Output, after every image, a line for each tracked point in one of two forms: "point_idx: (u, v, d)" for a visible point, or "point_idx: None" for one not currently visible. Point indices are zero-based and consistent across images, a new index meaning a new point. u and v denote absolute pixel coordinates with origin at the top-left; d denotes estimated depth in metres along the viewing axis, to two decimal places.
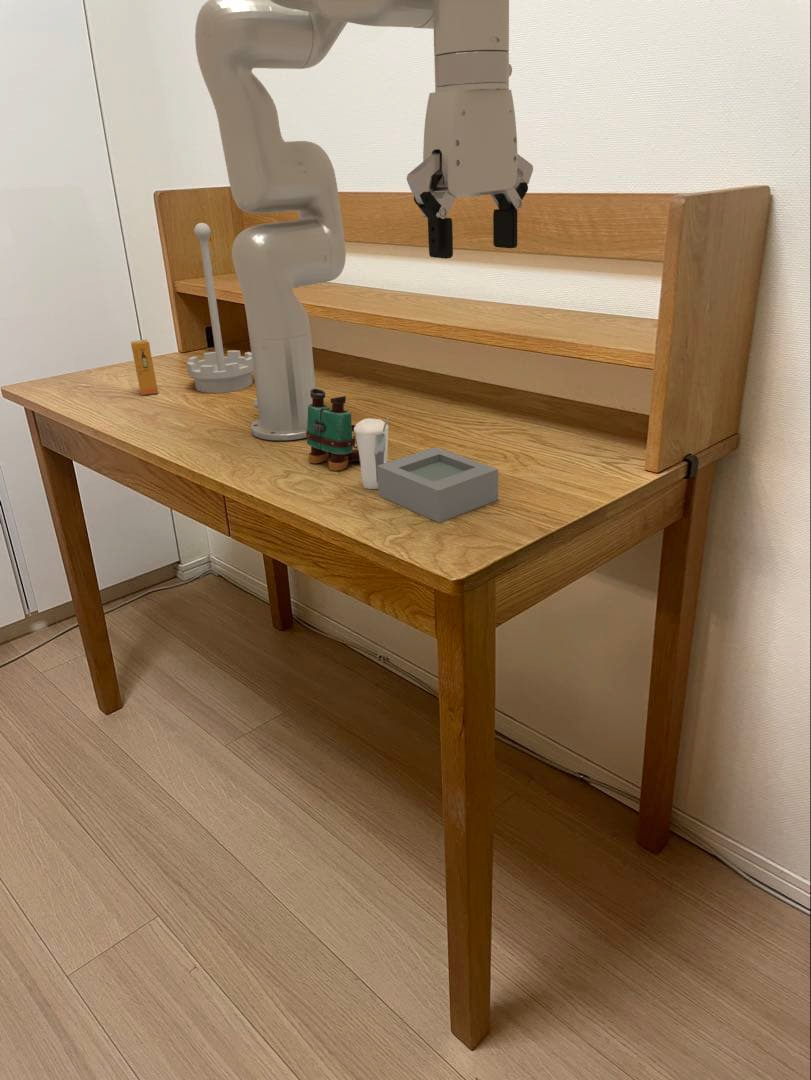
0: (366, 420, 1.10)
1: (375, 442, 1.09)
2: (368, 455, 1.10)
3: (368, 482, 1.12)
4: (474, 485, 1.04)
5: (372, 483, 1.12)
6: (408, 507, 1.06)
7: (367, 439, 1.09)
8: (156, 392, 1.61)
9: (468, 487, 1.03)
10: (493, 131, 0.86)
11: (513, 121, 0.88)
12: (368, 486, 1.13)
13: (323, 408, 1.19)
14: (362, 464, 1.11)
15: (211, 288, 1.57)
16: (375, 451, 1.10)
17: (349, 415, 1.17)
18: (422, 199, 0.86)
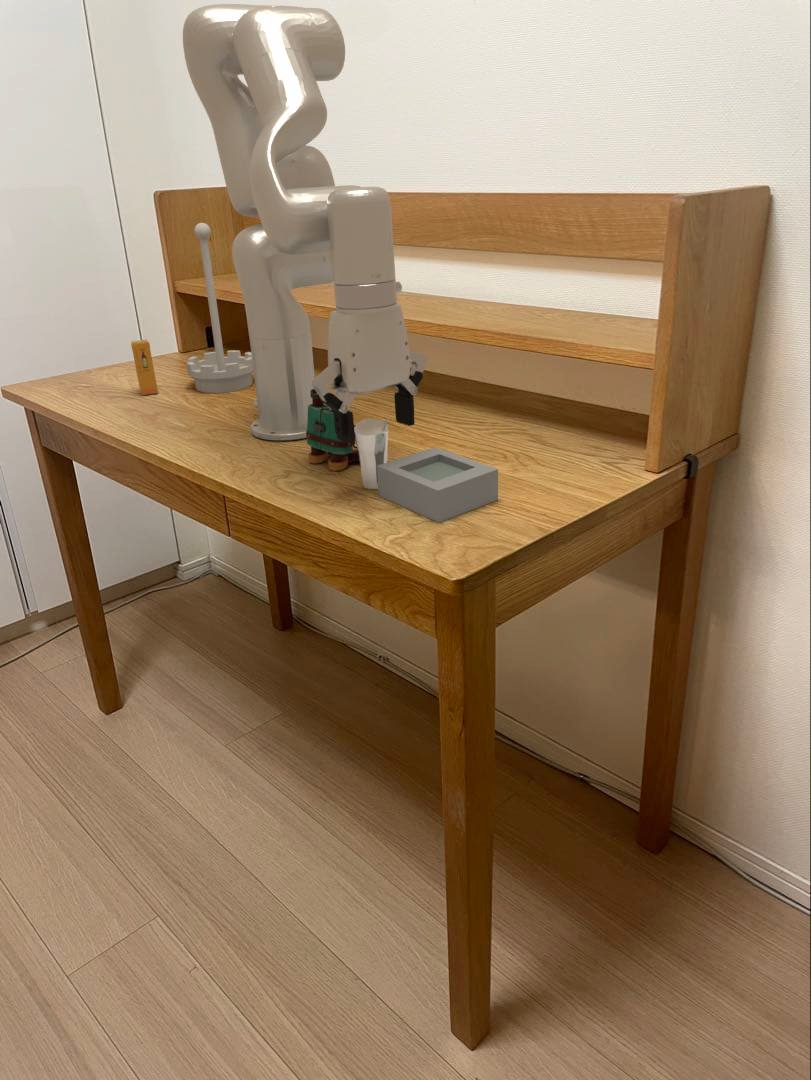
0: (366, 420, 1.10)
1: (375, 442, 1.09)
2: (368, 455, 1.10)
3: (368, 482, 1.12)
4: (474, 485, 1.04)
5: (372, 483, 1.12)
6: (408, 507, 1.06)
7: (367, 439, 1.09)
8: (156, 392, 1.61)
9: (468, 487, 1.03)
10: (385, 341, 1.03)
11: (404, 329, 1.05)
12: (368, 486, 1.13)
13: (323, 408, 1.19)
14: (362, 464, 1.11)
15: (211, 288, 1.57)
16: (375, 451, 1.10)
17: None
18: (325, 399, 1.03)
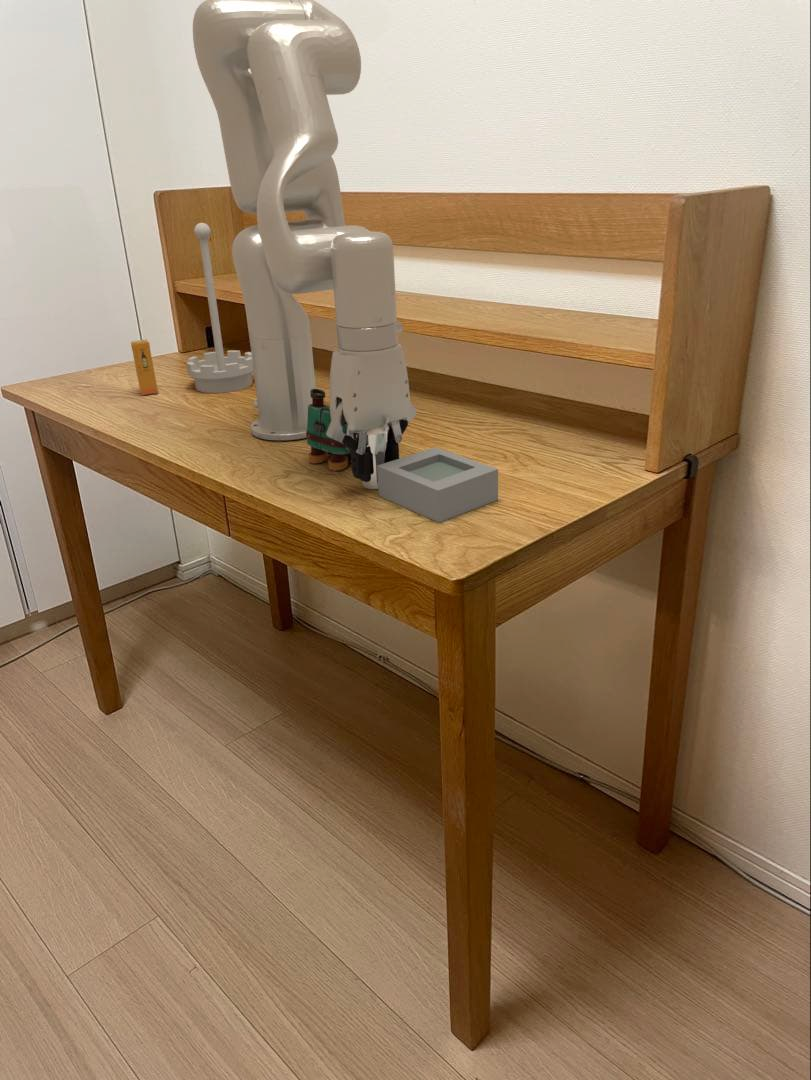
0: None
1: (375, 442, 1.09)
2: None
3: (368, 482, 1.12)
4: (474, 485, 1.04)
5: (372, 483, 1.12)
6: (408, 507, 1.06)
7: (367, 439, 1.09)
8: (156, 392, 1.61)
9: (468, 487, 1.03)
10: (385, 380, 1.06)
11: (404, 368, 1.08)
12: (368, 486, 1.13)
13: (323, 408, 1.19)
14: None
15: (211, 288, 1.57)
16: (375, 451, 1.10)
17: None
18: (345, 443, 1.07)
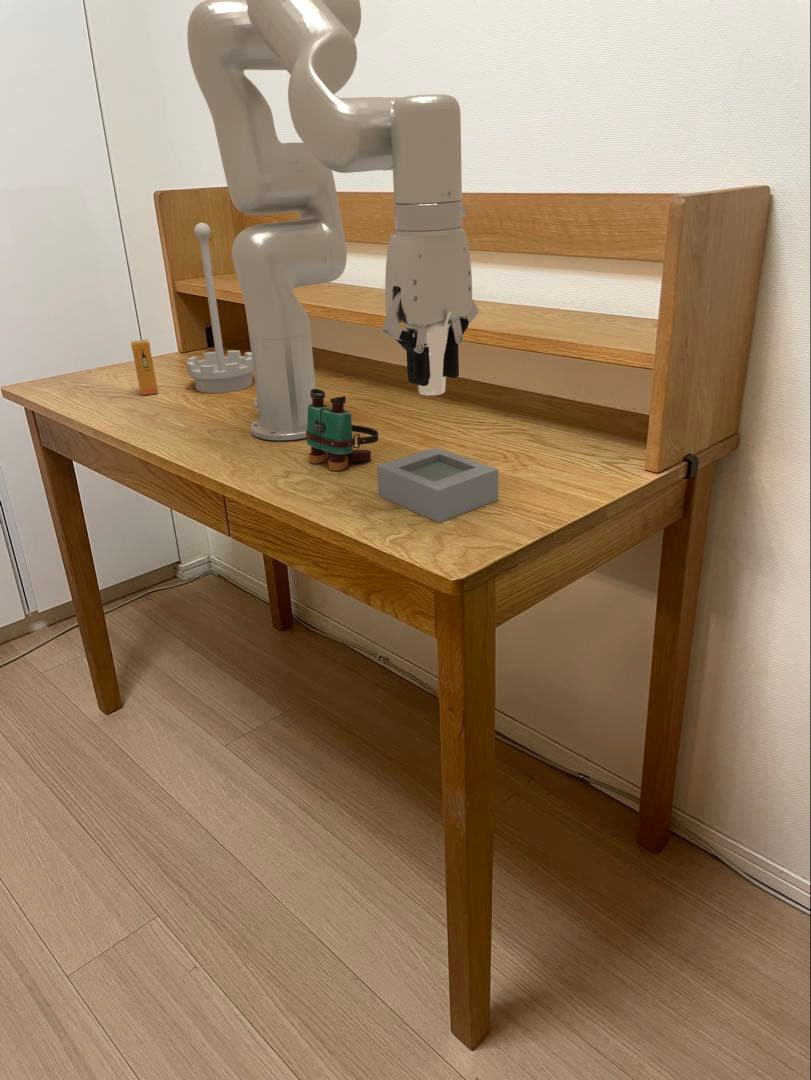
0: None
1: (435, 340, 0.98)
2: None
3: (425, 387, 1.01)
4: (474, 485, 1.04)
5: (430, 388, 1.01)
6: (408, 507, 1.06)
7: (426, 337, 0.98)
8: (156, 392, 1.61)
9: (468, 487, 1.03)
10: (448, 268, 0.95)
11: (467, 257, 0.97)
12: (425, 392, 1.02)
13: (323, 408, 1.19)
14: None
15: (211, 288, 1.57)
16: (435, 351, 0.99)
17: (349, 415, 1.17)
18: (402, 340, 0.97)
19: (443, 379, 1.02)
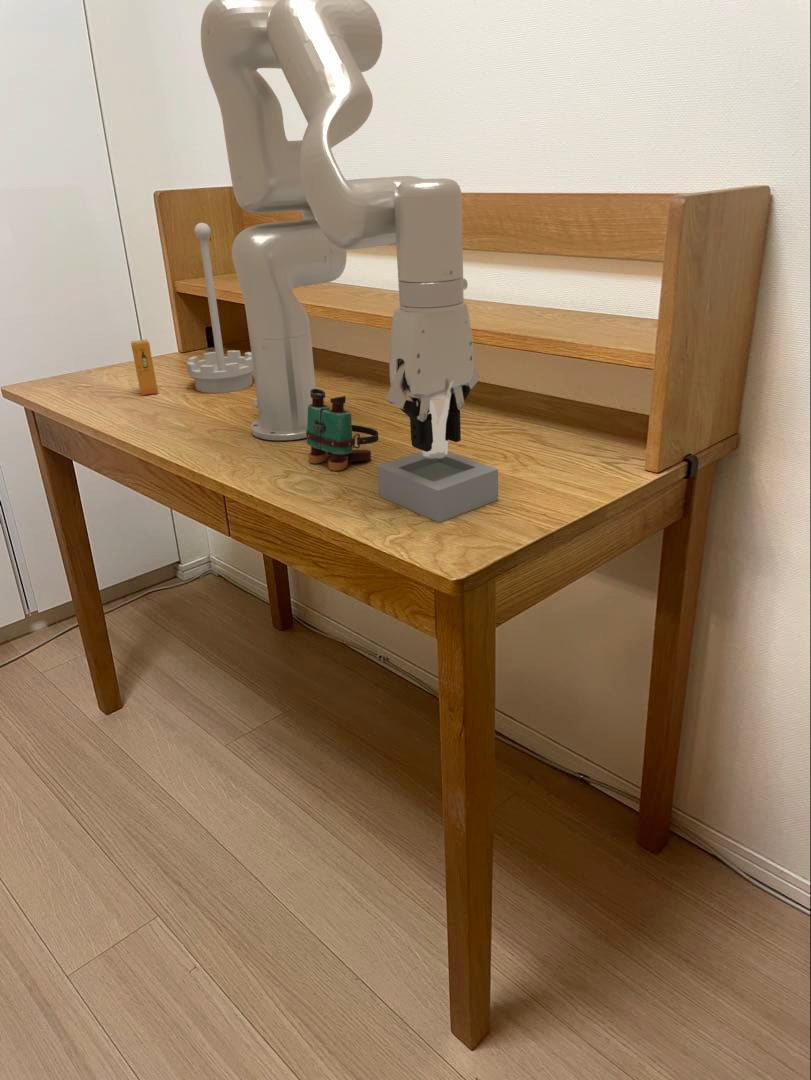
0: None
1: (438, 408, 1.02)
2: None
3: (428, 452, 1.05)
4: (474, 485, 1.04)
5: (433, 453, 1.05)
6: (408, 507, 1.06)
7: (429, 405, 1.02)
8: (156, 392, 1.61)
9: (468, 487, 1.03)
10: (450, 341, 0.99)
11: (469, 329, 1.00)
12: (428, 456, 1.05)
13: (323, 408, 1.19)
14: None
15: (211, 288, 1.57)
16: (437, 418, 1.03)
17: (349, 415, 1.17)
18: (405, 409, 1.00)
19: (445, 444, 1.05)
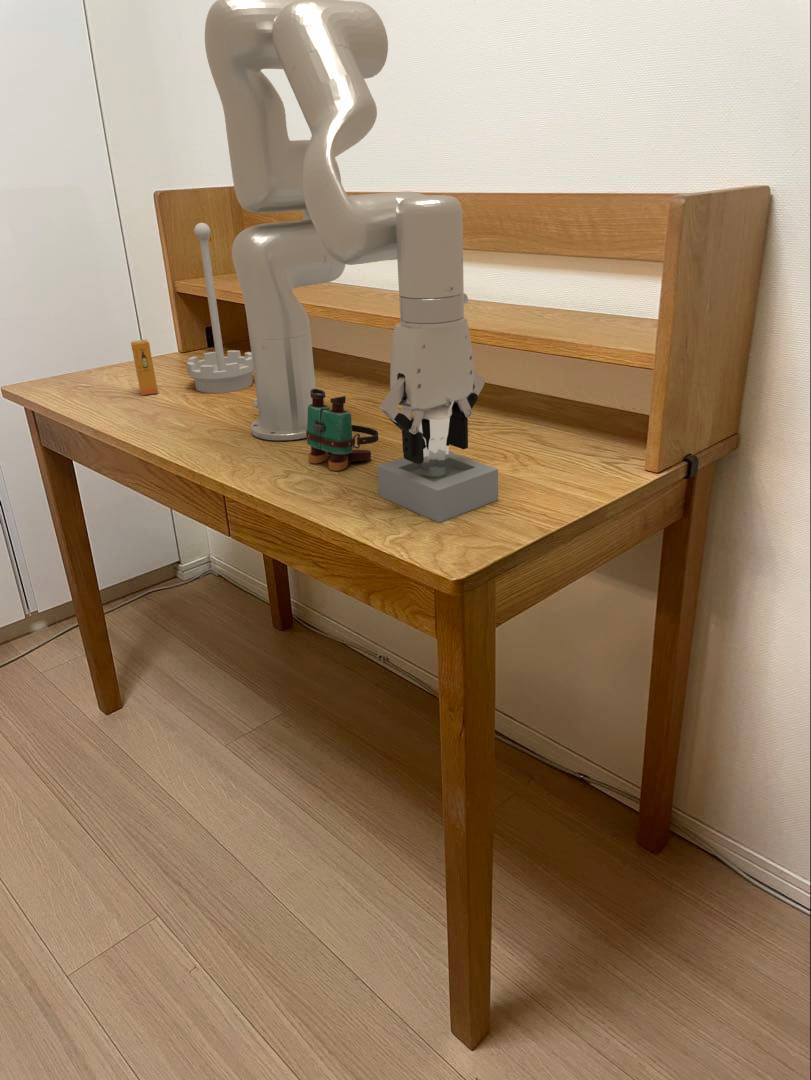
0: None
1: (438, 427, 1.03)
2: (430, 440, 1.04)
3: (428, 469, 1.06)
4: (474, 485, 1.04)
5: (433, 470, 1.06)
6: (408, 507, 1.06)
7: (430, 424, 1.03)
8: (156, 392, 1.61)
9: (468, 487, 1.03)
10: (450, 356, 0.99)
11: (469, 343, 1.01)
12: (428, 474, 1.07)
13: (323, 408, 1.19)
14: (423, 450, 1.06)
15: (211, 288, 1.57)
16: (438, 436, 1.04)
17: (349, 415, 1.17)
18: (397, 421, 1.00)
19: (445, 462, 1.07)
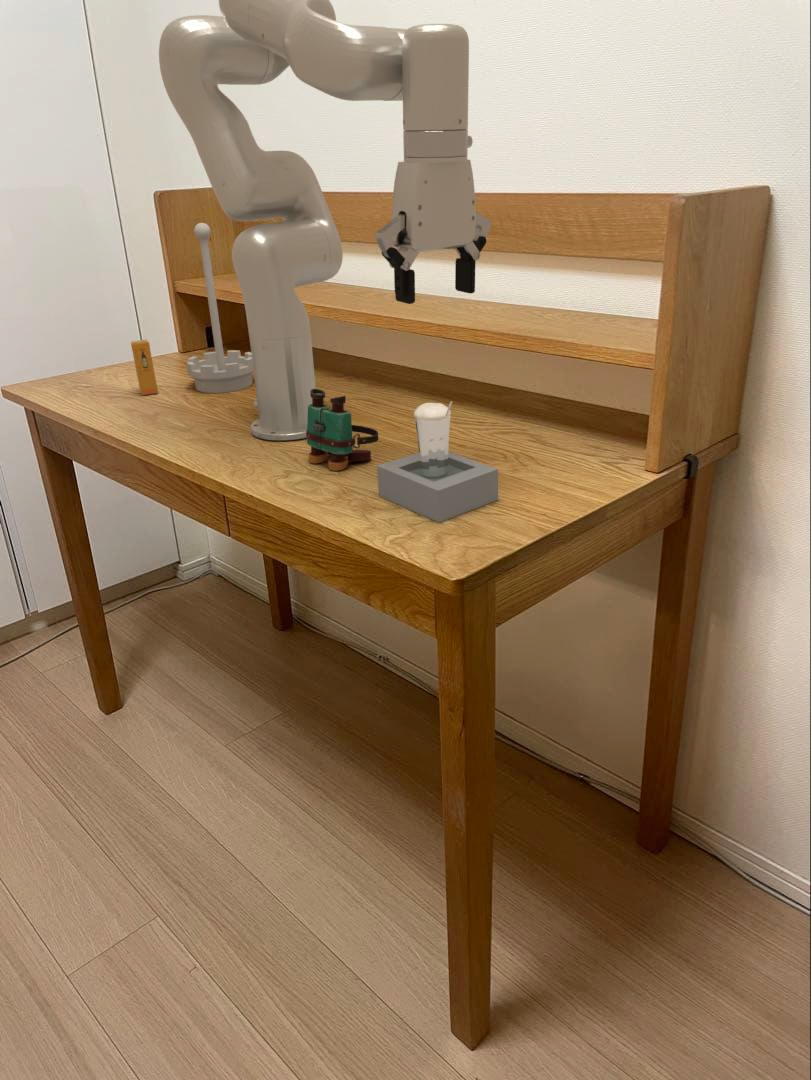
0: (427, 404, 1.04)
1: (437, 427, 1.03)
2: (429, 441, 1.04)
3: (428, 470, 1.06)
4: (474, 485, 1.04)
5: (433, 471, 1.06)
6: (408, 507, 1.06)
7: (429, 425, 1.03)
8: (156, 392, 1.61)
9: (468, 487, 1.03)
10: (452, 196, 1.00)
11: (472, 186, 1.01)
12: (428, 475, 1.07)
13: (323, 408, 1.19)
14: (422, 451, 1.05)
15: (211, 288, 1.57)
16: (437, 437, 1.04)
17: (349, 415, 1.17)
18: (388, 254, 0.99)
19: (445, 462, 1.07)
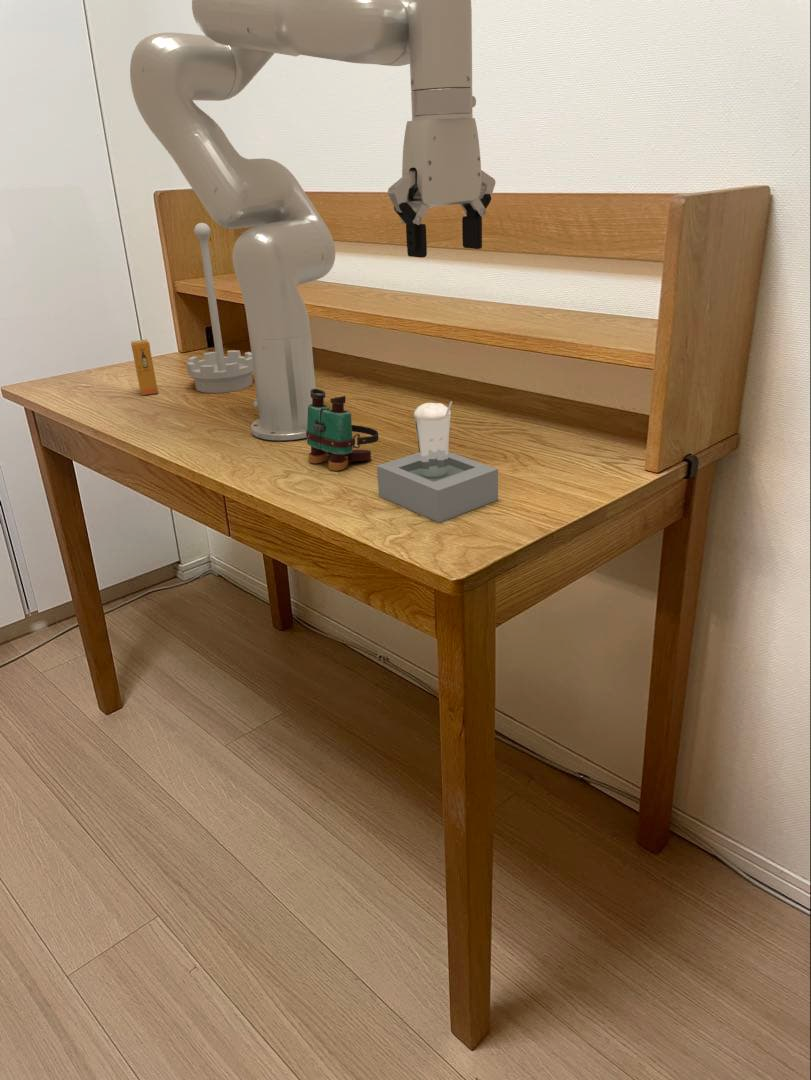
0: (427, 404, 1.04)
1: (437, 427, 1.03)
2: (429, 441, 1.04)
3: (428, 470, 1.06)
4: (474, 485, 1.04)
5: (433, 471, 1.06)
6: (408, 507, 1.06)
7: (429, 425, 1.03)
8: (156, 392, 1.61)
9: (468, 487, 1.03)
10: (459, 152, 1.05)
11: (477, 144, 1.06)
12: (428, 475, 1.07)
13: (323, 408, 1.19)
14: (422, 451, 1.06)
15: (211, 288, 1.57)
16: (437, 437, 1.04)
17: (349, 415, 1.17)
18: (401, 208, 1.04)
19: (445, 462, 1.07)
